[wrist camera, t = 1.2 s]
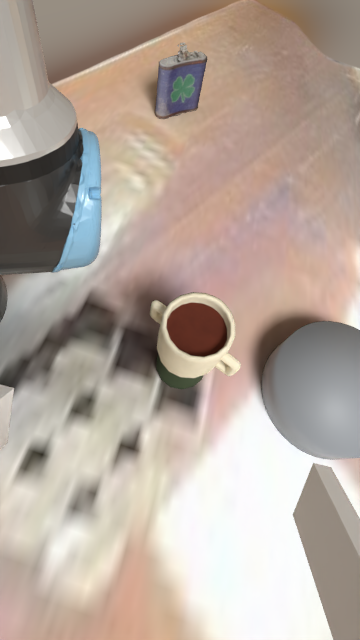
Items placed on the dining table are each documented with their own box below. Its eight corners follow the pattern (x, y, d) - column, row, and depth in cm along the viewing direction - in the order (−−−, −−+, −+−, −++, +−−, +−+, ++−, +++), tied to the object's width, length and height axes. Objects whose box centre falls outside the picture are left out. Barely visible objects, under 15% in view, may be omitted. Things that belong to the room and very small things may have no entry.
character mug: (230, 371, 43) (267, 333, 31) (198, 415, 40) (225, 391, 28) (164, 321, 45) (176, 267, 33) (129, 360, 42) (128, 316, 30)
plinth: (250, 339, 45) (263, 324, 41) (355, 332, 48) (379, 318, 44) (277, 467, 39) (296, 466, 34) (397, 451, 42) (430, 448, 37)
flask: (159, 121, 62) (164, 55, 52) (151, 111, 62) (155, 44, 53) (200, 110, 65) (212, 46, 55) (192, 100, 65) (203, 36, 56)
